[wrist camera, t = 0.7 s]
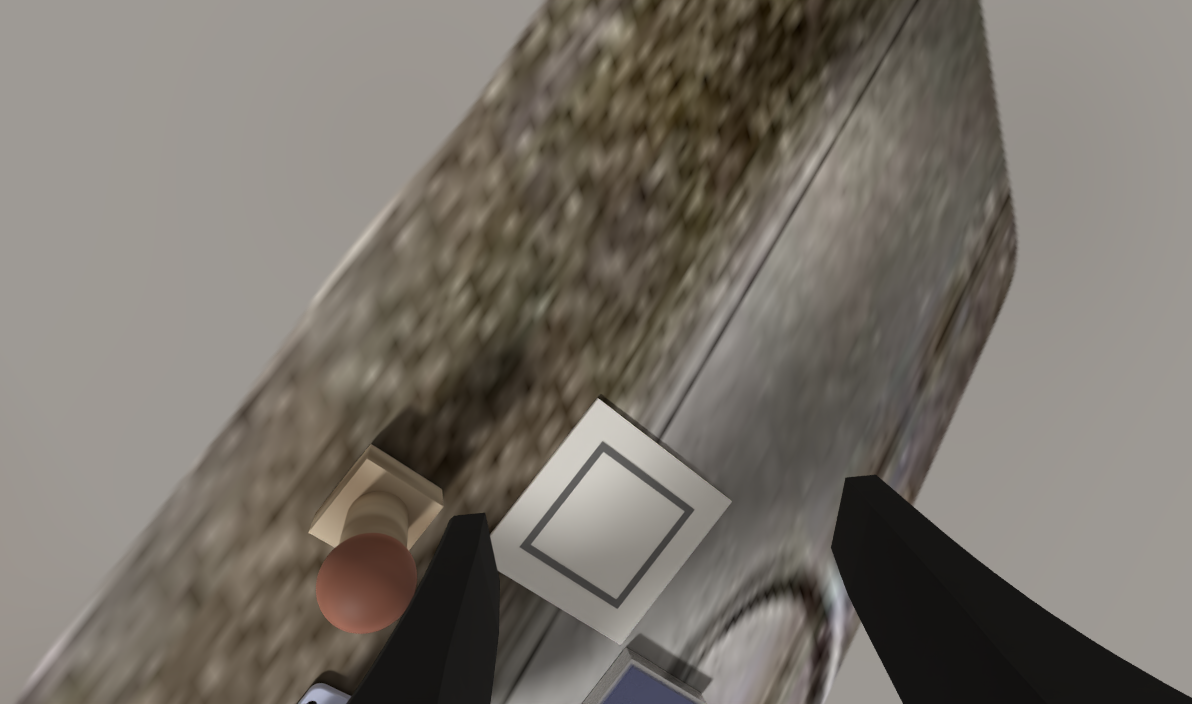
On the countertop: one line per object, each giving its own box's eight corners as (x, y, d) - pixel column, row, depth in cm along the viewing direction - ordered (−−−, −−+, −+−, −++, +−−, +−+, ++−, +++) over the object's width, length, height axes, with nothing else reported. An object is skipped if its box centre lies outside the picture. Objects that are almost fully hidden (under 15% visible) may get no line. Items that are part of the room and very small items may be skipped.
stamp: (390, 551, 30) (377, 682, 21) (317, 509, 29) (271, 629, 20) (442, 485, 30) (449, 589, 22) (371, 441, 29) (349, 531, 20)
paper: (619, 643, 35) (620, 646, 34) (474, 554, 31) (474, 556, 31) (730, 499, 35) (732, 501, 35) (597, 397, 32) (598, 398, 31)
